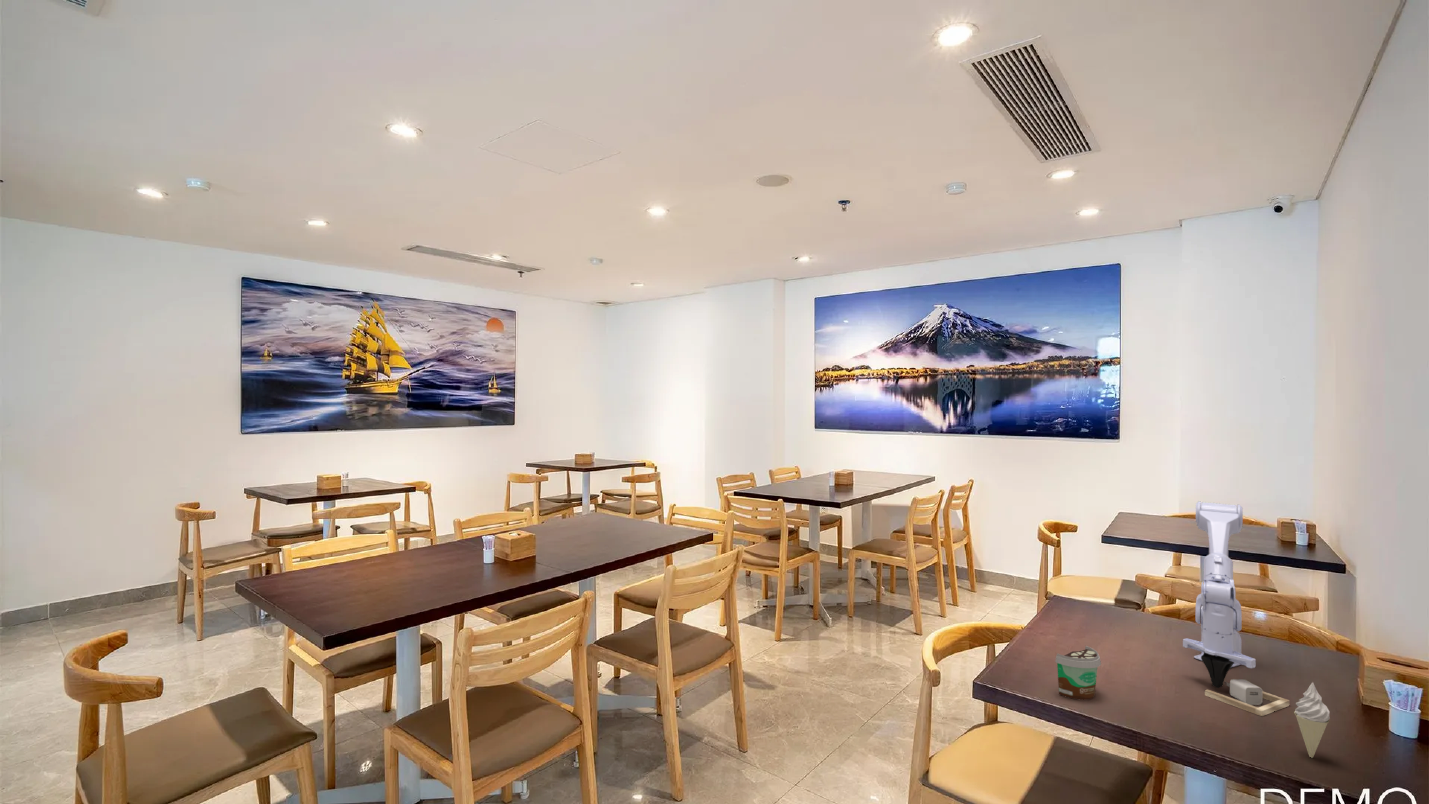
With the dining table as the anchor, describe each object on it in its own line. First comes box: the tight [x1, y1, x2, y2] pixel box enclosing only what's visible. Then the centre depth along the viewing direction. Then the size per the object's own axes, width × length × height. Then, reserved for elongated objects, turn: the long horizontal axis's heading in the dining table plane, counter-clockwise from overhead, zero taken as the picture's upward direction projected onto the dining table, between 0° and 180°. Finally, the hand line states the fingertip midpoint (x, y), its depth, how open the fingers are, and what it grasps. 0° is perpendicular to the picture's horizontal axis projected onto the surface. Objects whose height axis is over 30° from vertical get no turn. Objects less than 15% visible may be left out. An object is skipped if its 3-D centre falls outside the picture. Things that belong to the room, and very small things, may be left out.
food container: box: [1055, 645, 1102, 701], centre depth 149 cm, size 12×6×10 cm, turn 117°
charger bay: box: [1204, 689, 1291, 717], centre depth 147 cm, size 12×11×1 cm
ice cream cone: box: [1293, 681, 1331, 759], centre depth 123 cm, size 5×5×15 cm
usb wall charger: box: [1224, 678, 1263, 706], centre depth 149 cm, size 4×7×4 cm, turn 1°
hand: (1217, 686), depth 153 cm, fingers closed
